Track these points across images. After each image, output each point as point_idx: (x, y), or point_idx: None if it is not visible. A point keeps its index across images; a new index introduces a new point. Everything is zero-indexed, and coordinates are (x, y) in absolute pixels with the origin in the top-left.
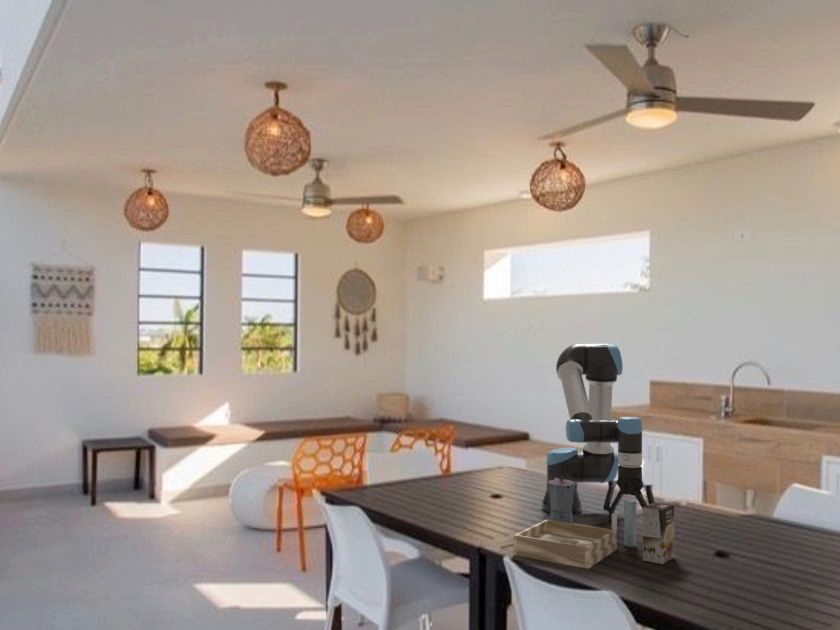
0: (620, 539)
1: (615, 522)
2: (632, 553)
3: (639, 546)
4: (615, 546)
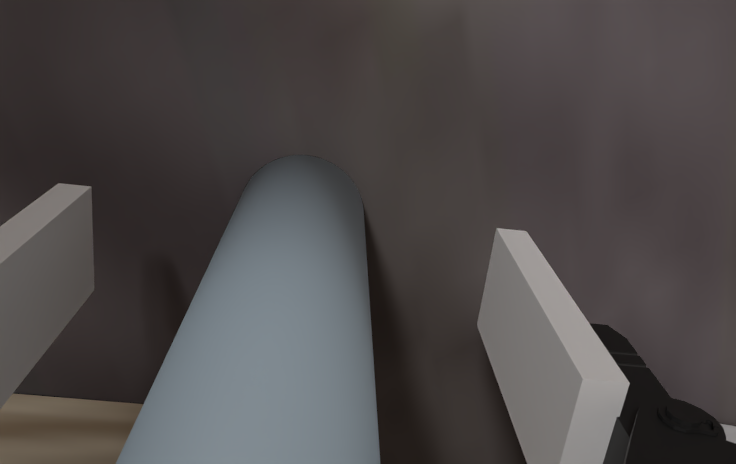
0: (125, 6)
1: (30, 303)
2: (384, 458)
3: (400, 207)
4: None
